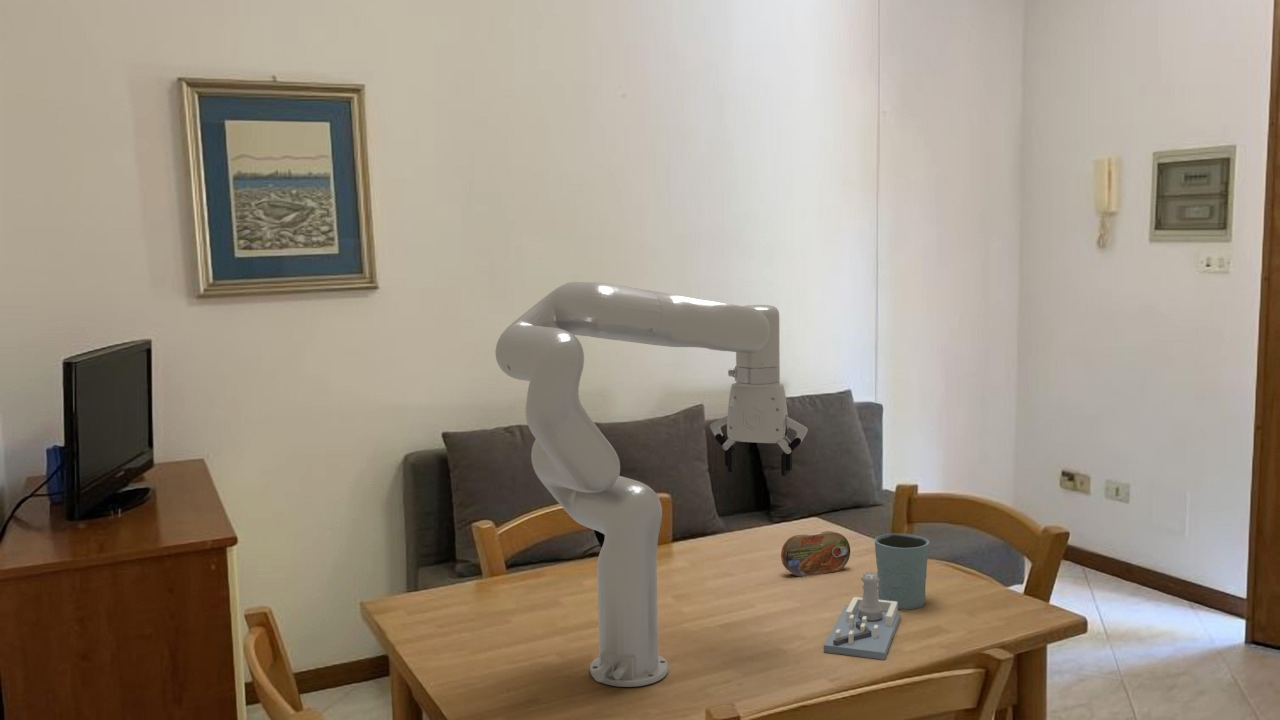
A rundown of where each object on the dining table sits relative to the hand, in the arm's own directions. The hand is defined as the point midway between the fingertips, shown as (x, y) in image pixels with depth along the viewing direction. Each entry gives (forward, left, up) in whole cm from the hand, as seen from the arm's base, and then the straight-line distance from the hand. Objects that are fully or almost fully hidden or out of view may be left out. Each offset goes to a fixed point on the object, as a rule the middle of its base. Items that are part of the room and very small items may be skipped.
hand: (758, 472), depth 181 cm
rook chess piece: (+8, -18, -27) cm, 34 cm away
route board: (+3, -18, -28) cm, 34 cm away
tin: (+34, -3, -29) cm, 45 cm away
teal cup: (+22, -22, -28) cm, 42 cm away
